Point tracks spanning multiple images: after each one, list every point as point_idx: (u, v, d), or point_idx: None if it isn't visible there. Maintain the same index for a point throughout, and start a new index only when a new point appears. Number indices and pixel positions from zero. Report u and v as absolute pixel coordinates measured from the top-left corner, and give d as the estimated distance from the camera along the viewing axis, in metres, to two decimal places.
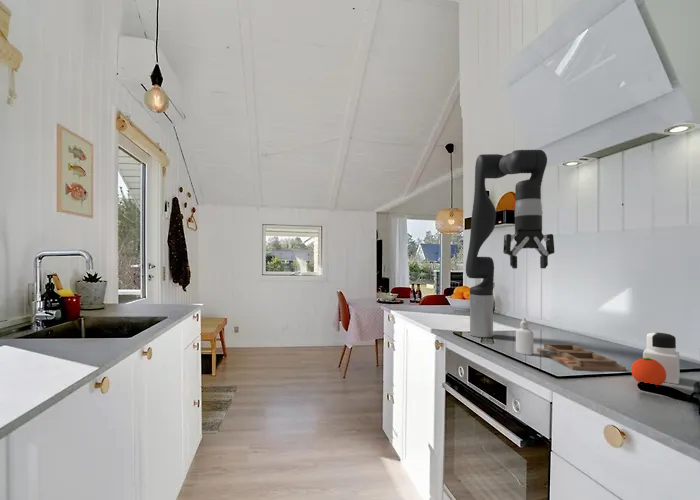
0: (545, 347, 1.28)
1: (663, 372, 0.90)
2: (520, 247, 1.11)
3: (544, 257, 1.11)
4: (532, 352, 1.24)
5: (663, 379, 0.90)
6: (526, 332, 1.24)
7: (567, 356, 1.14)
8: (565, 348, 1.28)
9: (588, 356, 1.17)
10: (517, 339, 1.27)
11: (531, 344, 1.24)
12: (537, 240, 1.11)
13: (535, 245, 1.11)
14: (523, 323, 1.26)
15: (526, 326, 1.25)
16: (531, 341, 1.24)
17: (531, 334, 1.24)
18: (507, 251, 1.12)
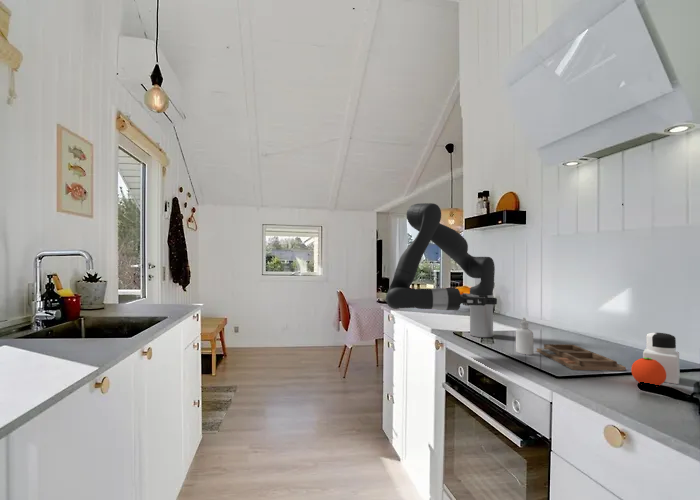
0: (545, 347, 1.28)
1: (663, 372, 0.90)
2: None
3: None
4: (532, 352, 1.24)
5: (663, 379, 0.90)
6: (526, 332, 1.24)
7: (567, 356, 1.14)
8: (565, 348, 1.28)
9: (588, 356, 1.17)
10: (517, 339, 1.27)
11: (531, 344, 1.24)
12: (468, 305, 1.25)
13: None
14: (523, 323, 1.26)
15: (526, 326, 1.25)
16: (531, 341, 1.24)
17: (530, 334, 1.24)
18: None
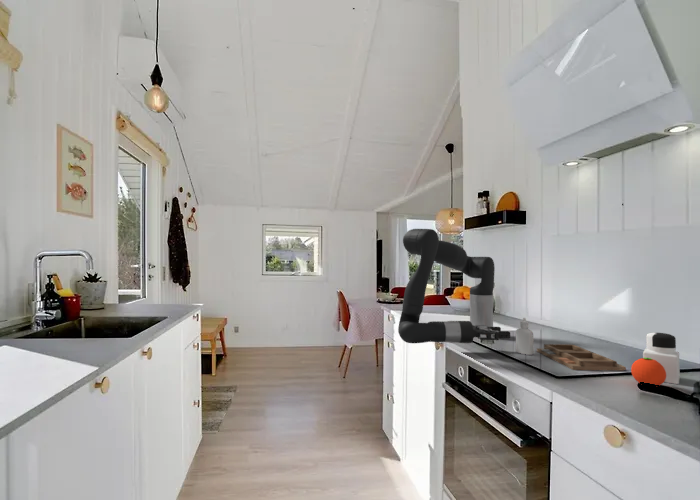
0: (545, 347, 1.28)
1: (663, 372, 0.90)
2: None
3: None
4: (532, 352, 1.24)
5: (663, 379, 0.90)
6: (526, 332, 1.24)
7: (567, 356, 1.14)
8: (565, 348, 1.28)
9: (588, 356, 1.17)
10: (517, 339, 1.27)
11: (531, 344, 1.24)
12: None
13: None
14: (523, 323, 1.26)
15: (526, 326, 1.25)
16: (531, 341, 1.24)
17: (531, 334, 1.24)
18: None
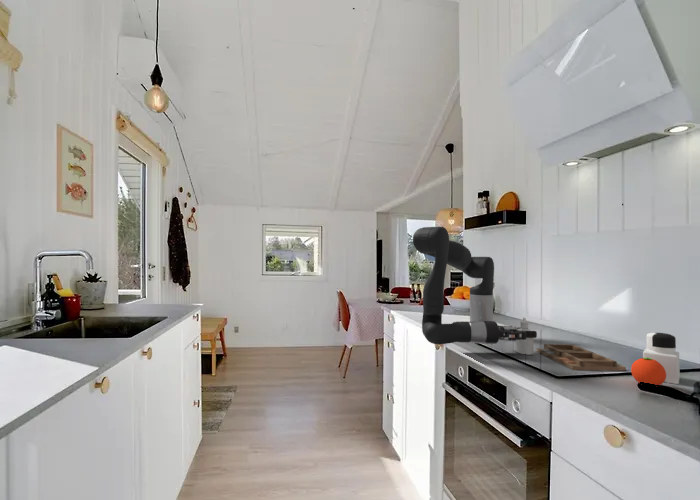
0: (545, 347, 1.28)
1: (663, 372, 0.90)
2: None
3: None
4: (532, 352, 1.24)
5: (663, 379, 0.90)
6: None
7: (567, 356, 1.14)
8: (565, 348, 1.28)
9: (588, 356, 1.17)
10: None
11: (531, 344, 1.24)
12: (507, 338, 1.25)
13: None
14: (523, 323, 1.26)
15: (526, 326, 1.25)
16: (531, 341, 1.24)
17: None
18: None
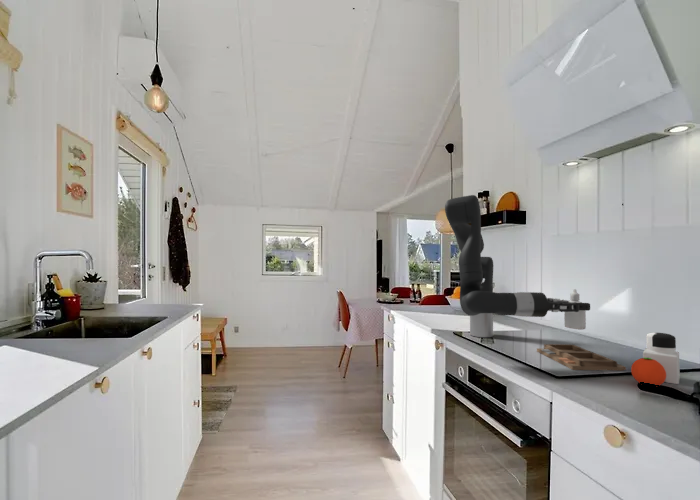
0: (545, 347, 1.28)
1: (663, 372, 0.90)
2: None
3: None
4: (584, 326, 1.12)
5: (663, 379, 0.90)
6: None
7: (567, 356, 1.14)
8: (565, 348, 1.28)
9: (588, 356, 1.17)
10: (566, 313, 1.15)
11: (583, 318, 1.12)
12: (556, 311, 1.13)
13: None
14: (574, 295, 1.14)
15: (577, 298, 1.13)
16: (583, 314, 1.12)
17: None
18: None
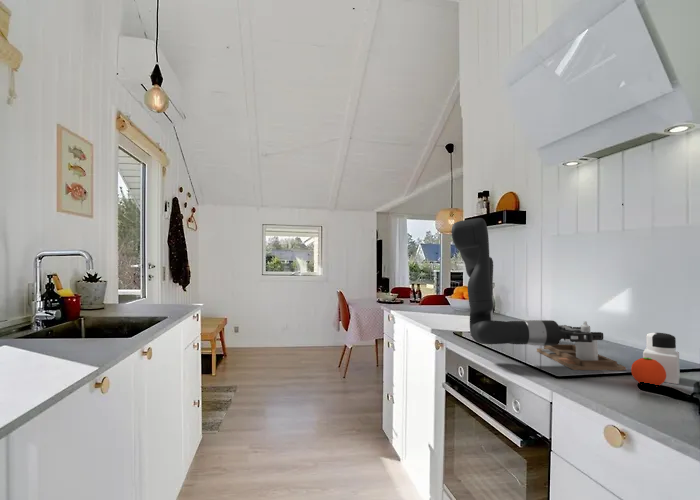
0: (545, 347, 1.28)
1: (663, 372, 0.90)
2: None
3: None
4: None
5: (663, 379, 0.90)
6: None
7: (567, 356, 1.14)
8: (565, 348, 1.28)
9: None
10: (578, 345, 1.13)
11: (596, 351, 1.10)
12: (568, 340, 1.11)
13: None
14: (585, 327, 1.12)
15: (588, 331, 1.11)
16: (595, 347, 1.10)
17: None
18: None
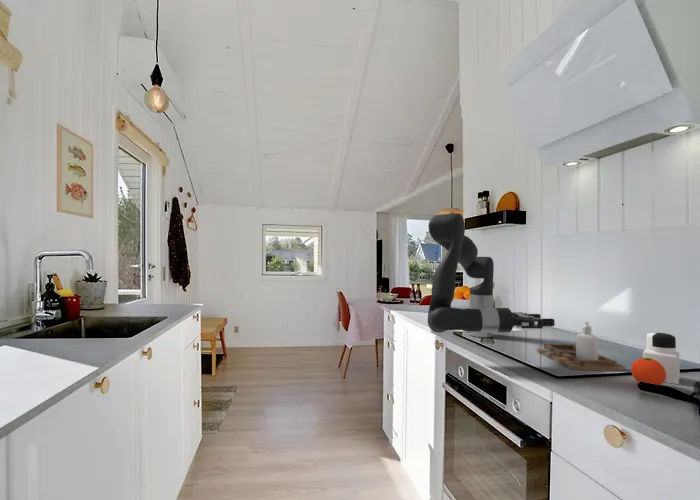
0: (545, 347, 1.28)
1: (663, 372, 0.90)
2: None
3: None
4: None
5: (663, 379, 0.90)
6: (590, 338, 1.10)
7: (567, 356, 1.14)
8: (565, 348, 1.28)
9: None
10: (578, 345, 1.13)
11: (596, 352, 1.10)
12: None
13: None
14: (586, 328, 1.12)
15: (589, 331, 1.11)
16: (596, 348, 1.10)
17: (595, 340, 1.10)
18: None
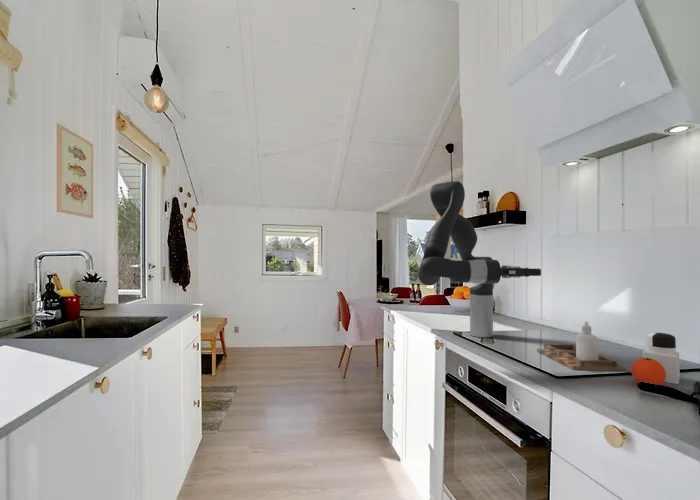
0: (545, 347, 1.28)
1: (663, 372, 0.90)
2: None
3: None
4: None
5: (663, 379, 0.90)
6: (590, 338, 1.10)
7: (567, 356, 1.14)
8: (565, 348, 1.28)
9: None
10: (578, 345, 1.13)
11: (596, 352, 1.10)
12: None
13: None
14: (586, 328, 1.12)
15: (589, 331, 1.11)
16: (596, 348, 1.10)
17: (595, 340, 1.10)
18: None
